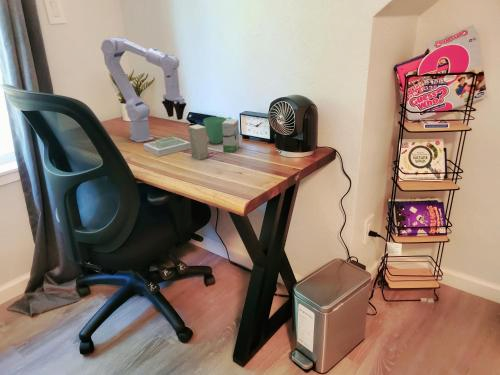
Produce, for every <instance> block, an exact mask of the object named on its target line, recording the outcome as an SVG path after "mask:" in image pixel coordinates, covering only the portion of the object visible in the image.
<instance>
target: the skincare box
mask: <svg viewBox="0 0 500 375" xmlns="http://www.w3.org/2000/svg"><path fill="white" fill-rule="evenodd" d="M188 132H189V142H190V143H191V148H190V149H191V150H190V151H191V156H192V157H193V158H195V159H197V160H199V161H200V160H204V159H206V158H209V148H208V146H209V145H208V135H207V132H206V127H205V125H201V124H194V125H188Z"/></svg>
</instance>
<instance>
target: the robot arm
mask: <svg viewBox="0 0 500 375" xmlns="http://www.w3.org/2000/svg"><path fill="white" fill-rule="evenodd" d="M100 49H101V51H102V54H103V58H104V65H105V66H106V68H107V70H108V72H109V73H110V75H111V77H112V79H113V81H114V82H115V85H116V86H117V87H118V89H119V91H120V94H121V95H122V97H123V98H124V100H125V105H124V107H125V108H124V109H125V110H126V114H127V117H128V119H129V120H130V122H129V124H128V125H129V134H130V137H128V139H130V140H132V141H134V142H136V143H142V142H143V143H144V142H148V141H151V140H154V139H155V137H152V136H151V131H150V123H149V115H150V113H151V109H150V107H149V105H148V104H146V103H145V101H144V99H142V98H141V97H139V96H138V94H137V93H136V91H135V89H134V87H133V85H132V84H131V81H130V79H129V78H128V76H127V74H126V72H125V71H124V68H123V67H122V65H121V63H120V62H121V59H122V57H123V56H124V54H125V53H126V52H130V53H132V54H136V55H137V56H141V57H143V58H145V60H146V62H147V63H150V64H152V65H155V66H157V67H159V68H160V69H162V71H163V76H164V85H165V86H164V87H165V94H163V95H162V99H163V100H162V101H161V104H163V106H164V108H165V111H166V114H167V117H168V118H172V117H174V115H176V119H177V120H178V121H180V120H183V117H184V111H185V109H186V106H187V102H185V97H183V95H181V93H180V83H179V82H180V81H179V72H178V70H179V67H180V60H179V58H178V57H177V56H175V55H174V54H170V55H168V53H167V52H162V51H160V50H158V48H157V47H150V48H148V49H147V48H145V47H143V46H141V45H140V44H137V43H135V42H132V41H130V40H129V39H128V38H123V37H120V36H118V37H112V38H110V37H106V38H105V39H103V41H102V42H101V46H100ZM174 110H175V111H174ZM174 112H175V114H174Z"/></svg>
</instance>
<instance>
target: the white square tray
mask: <svg viewBox="0 0 500 375" xmlns="http://www.w3.org/2000/svg"><path fill="white" fill-rule="evenodd" d="M173 137H174V138H177V139H178V140H179V144H178V145H174V146H170V147H166V148H162V149H158V148H156V143H155V141H151V142H147V143H143V150H144V151H146V152H148V153H150V154H152V155H154V156H157V157H163V156H166V155H170V154H173V153H177V152H182V151H185V150H190V149H191V143H190V141H187V140H185V139H183V138H179V137H176V136H173Z"/></svg>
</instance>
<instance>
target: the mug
mask: <svg viewBox="0 0 500 375" xmlns="http://www.w3.org/2000/svg"><path fill="white" fill-rule="evenodd" d="M226 119H233V118H232V117H230V116H229V117H224V116H223V117H222V116H211V117H206V118H204V119H203V126H205V127H206V135H207V139H208V140H209V142H210V143H211V144H213V145H215V144H216V145H217V144H221V143H223V129H222V123H223V122H224V121H225V120H226Z"/></svg>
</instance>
